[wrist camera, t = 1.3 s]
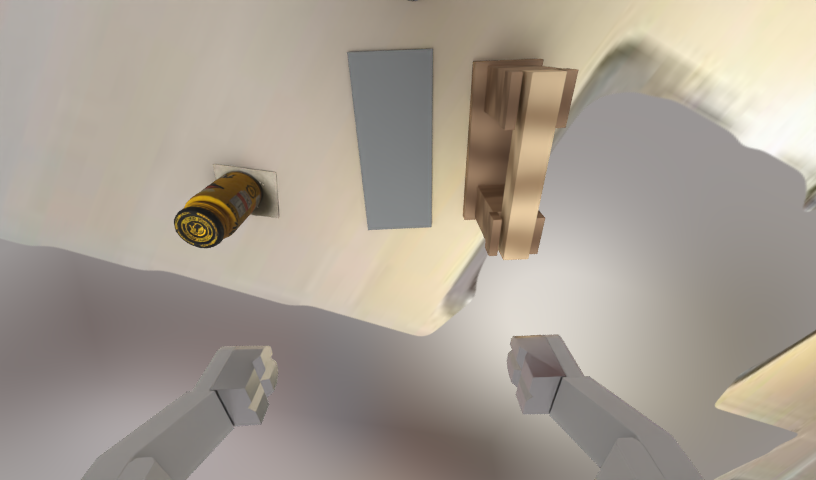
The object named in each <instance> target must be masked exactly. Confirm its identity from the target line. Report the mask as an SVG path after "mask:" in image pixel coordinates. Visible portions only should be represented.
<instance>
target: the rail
mask: <svg viewBox="0 0 816 480" xmlns="http://www.w3.org/2000/svg"><path fill="white" fill-rule="evenodd" d="M521 72H523V76H522V83H521V90H520V97H519V104H518V111H517V118H516V125H515V130H513V132H512V139H511V146H510V153H509V161H508V168H507V175H506V182H505V189H504V197H503V204H502V211H501V219H502V224H501V231H500V238H499V245H498V250H499V252H500V254H501V256H502V258H503V260H516V259H528V257H529V252H530V247H531V243H532V238H533V233H534V228H535V223H536V219H537V214H538V209H539V204H540V199H541V194H542V189H543V185H544V180H545V175H546V170H547V165H548V161H549V156H550V151H551V146H552V141H553V137H554V132H555V127H556V122H557V117H558V113H559V108H560V103H561V98H562V93H563V88H564V84H565V79H566V74H567V71H563V70H555V69H543V70H521Z"/></svg>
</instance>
